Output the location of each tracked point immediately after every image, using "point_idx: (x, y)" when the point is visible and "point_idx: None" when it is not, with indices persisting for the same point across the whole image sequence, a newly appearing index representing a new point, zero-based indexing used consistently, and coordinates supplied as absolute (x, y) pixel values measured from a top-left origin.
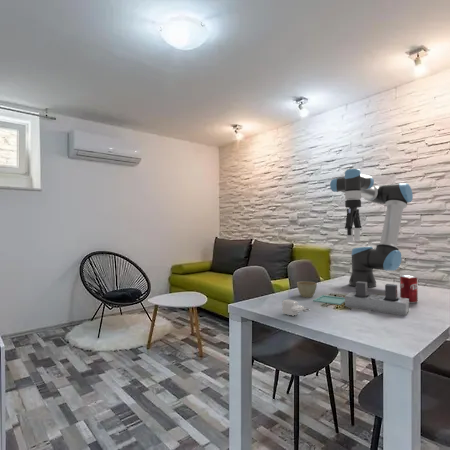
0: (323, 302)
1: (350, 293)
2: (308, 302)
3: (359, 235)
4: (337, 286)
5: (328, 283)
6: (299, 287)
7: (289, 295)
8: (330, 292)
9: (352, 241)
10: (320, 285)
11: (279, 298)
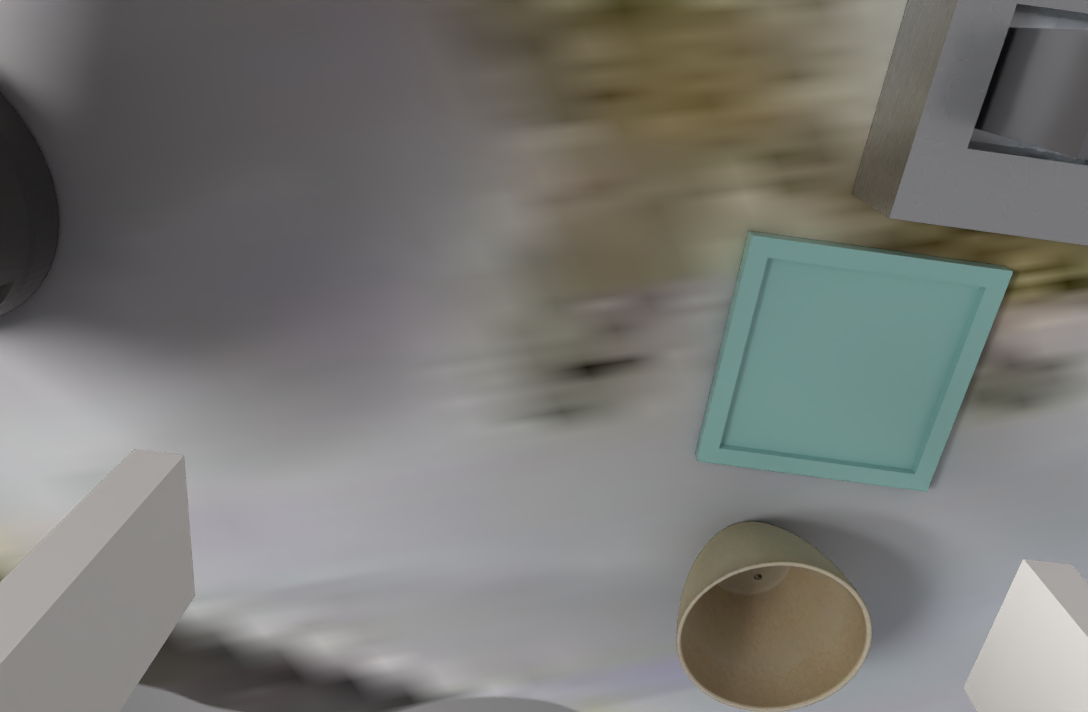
0: (954, 406)
1: (967, 214)
2: (948, 507)
3: (84, 571)
4: (156, 409)
5: (59, 504)
6: (832, 658)
7: None
8: (480, 422)
9: (1078, 580)
10: (205, 548)
11: (872, 700)
